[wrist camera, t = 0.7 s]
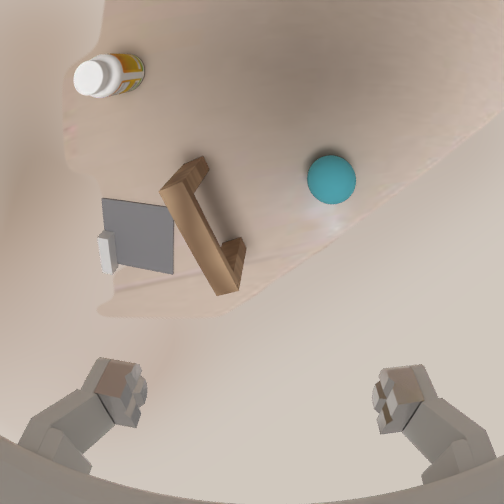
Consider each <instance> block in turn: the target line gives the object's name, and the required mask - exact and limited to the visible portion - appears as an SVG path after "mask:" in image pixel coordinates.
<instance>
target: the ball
mask: <svg viewBox="0 0 504 504" xmlns="http://www.w3.org/2000/svg"><path fill="white" fill-rule="evenodd" d="M307 182H308V187H309V189H310V191H311V193H312V194H313V196H314V197H315V198H316V199H318V200H319V201H321V202H323V203H326V204H338V203H341V202H343V201H345V200H347V199H348V198H349V197H350V196H351V195H352V193H353V191H354V189H355V185H356V176H355V172H354V170H353V168H352V166H351V165H350V164H349V163H348V162H347V161H346V160H345V159H343V158H341V157H338V156H333V155H329V156H324V157H321V158H319V159H318V160H316V161H315V162H314V163H313V164H312V165H311V167H310V169H309V172H308V176H307Z"/></svg>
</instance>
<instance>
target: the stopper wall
mask: <svg viewBox="0 0 504 504" xmlns="http://www.w3.org/2000/svg"><path fill="white" fill-rule="evenodd" d="M97 240H98V246H99V254H100V260H101V266H102V272H103V273H107V274H111V275H113V274H114V272H115V271H116V269H117V268H118V263H117V255H116V246H115V237H114V232H111V231H105V230H103V231H102V233H101V234H100V235H99V236H98V237H97Z"/></svg>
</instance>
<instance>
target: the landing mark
mask: <svg viewBox="0 0 504 504" xmlns="http://www.w3.org/2000/svg"><path fill="white" fill-rule="evenodd" d="M102 208H103V219H104V229H105V231H111V232H114V237H115V246H116V255H117V263H118V264H122V265H127V266H132V267H137V268H142V269H147V270H152V271H157V272H162V273H167V274H173V234H174V219H173V218H172V216H171V214H170V212H169V210H168V208H167V207H164V206H157V205H150V204H143V203H136V202H129V201H122V200H114V199H107V198H102Z"/></svg>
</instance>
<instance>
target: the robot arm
mask: <svg viewBox="0 0 504 504" xmlns="http://www.w3.org/2000/svg"><path fill="white" fill-rule="evenodd" d="M141 372H142V370H141V367H140V365H139V364H136V363H130V362H124V361H119V360H113V359H107V358H102V357H100V358H98V359H97V360H96V362H95V364H94V365H93V367H92V369H91V371H90V373H89V375H88V376H87V378H86V380H85V382H84V384H83V386H82V388H81V390H78V389H77V390H75V391H74V392H72V393H70V394H69V395H67V396H66V397H64V398H63V399H61V400H60V401H58V402H56V403H55V404H53V405H51V406H50V407H48V408H47V409H45V410H43V411H42V412H40V413H39V414H37V415H35V416H34V417H32V418H31V420H30V421H29V423H28V425H27V427H26V429H25V431H24V433H23V435H22V437H21V439H20V441H19V443H18V445H17V444H15V443H13V442H11V441H9V440H8V439H6V438H4V437H2V436H1V435H0V504H232V503H220V502H210V501H202V500H193V499H187V498H181V497H175V496H169V495H164V494H159V493H154V492H149V491H144V490H140V489H136V488H132V487H128V486H124V485H121V484H117V483H114V482H110V481H106V480H104V479H100V478H97V477H94V476H91V475H89V473H90V470H91V467H92V465H91V463H90V462H89V461H88V460H87V459H86V458H85V457H84V456H83V453H84V452H85V451H87V449H89V448H90V447H91V446H92V445H93V444H94V443H96V442H97V441H98V440H99V439H100V438H101V437H102V436H104V435H105V434H106V433H107V432H108V431H109V430H110V429H111V428H112V427H114V426H115V424H118V425H122V426H128V427H133V428H136V427H137V424H138V421H139V418H140V416H141V412H140V409H139V407H141V406H142V405H143V404H145V400H146V397H147V383H146V380H145V379H144V378H143V377H142V376H141V375H140V374H141ZM379 378H380V381H379V382H378V383H376V384H375V386H374V389H373V395H372V400H373V406H374V409H375V410H376V411H377V412H378V413H379V416H378V418H377V422H378V426H379V430H380V434H387V433H394V432H402V431H403V432H402V433H403V434H404V435H405V436H406V437H407V438H408V439H409V440H410V441H411V442H412V444H413V445H414V446H415V447H416V448H417V449H418V450H419V451H420V452H421V453H422V454H423V455H424V456H425V457H426V458H427V459H428V460H429V461H430V462H431V463H432V465H430V466H429V467H428V468H427V469H426V470H425V471H424V472H423V474H422V481H423V485H421V486H417V487H413V488H409V489H405V490H401V491H396V492H392V493H387V494H382V495H377V496H371V497H366V498H359V499H352V500H344V501H336V502H327V503H313V504H504V455H503V456H500V457H498V458H496V455H495V452H494V450H493V447H492V445H491V442H490V440H489V437H488V435H487V432H486V430H485V429H483V428H482V427H481V426H479V425H478V424H476V423H475V422H474V421H472V420H471V419H470V418H468V417H467V416H466V415H464V414H463V413H462V412H460V411H459V410H457V409H456V408H455V407H453V406H452V405H451V404H449V403H448V402H447V401H445V400H444V399H443V398H438V396H437V394H436V392H435V389H434V387H433V385H432V383H431V380H430V378H429V376H428V374H427V372H426V369H425V367H424V366H423V365H422V364H419V365H411V366H402V367H393V368H385V369H382V370H381V372H380V374H379Z"/></svg>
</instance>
